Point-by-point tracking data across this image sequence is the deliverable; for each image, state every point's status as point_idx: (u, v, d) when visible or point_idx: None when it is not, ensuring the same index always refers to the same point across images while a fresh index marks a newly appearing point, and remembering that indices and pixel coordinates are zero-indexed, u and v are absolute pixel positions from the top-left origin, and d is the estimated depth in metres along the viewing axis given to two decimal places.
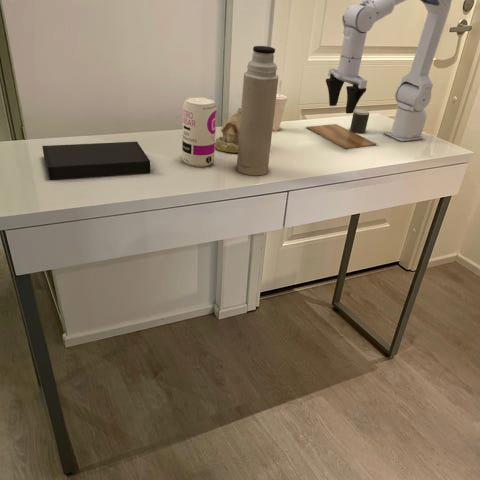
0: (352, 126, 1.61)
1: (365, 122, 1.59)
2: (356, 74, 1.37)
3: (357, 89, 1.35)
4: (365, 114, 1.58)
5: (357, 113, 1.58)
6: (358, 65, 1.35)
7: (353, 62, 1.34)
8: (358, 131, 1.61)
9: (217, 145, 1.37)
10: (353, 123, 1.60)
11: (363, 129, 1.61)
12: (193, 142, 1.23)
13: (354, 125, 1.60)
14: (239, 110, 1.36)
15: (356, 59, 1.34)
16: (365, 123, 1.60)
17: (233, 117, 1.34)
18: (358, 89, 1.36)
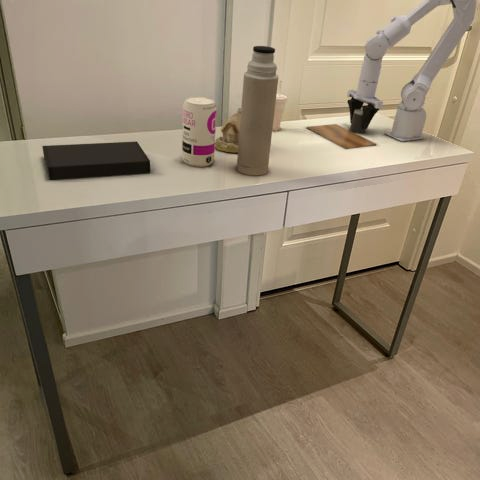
0: (352, 126, 1.61)
1: None
2: (373, 96, 1.55)
3: (372, 108, 1.54)
4: None
5: (357, 113, 1.58)
6: (375, 88, 1.53)
7: (370, 85, 1.52)
8: (358, 131, 1.61)
9: (217, 145, 1.37)
10: (353, 123, 1.60)
11: (363, 129, 1.61)
12: (193, 142, 1.23)
13: (355, 125, 1.60)
14: (239, 110, 1.36)
15: (373, 83, 1.52)
16: None
17: (233, 117, 1.34)
18: (372, 108, 1.54)
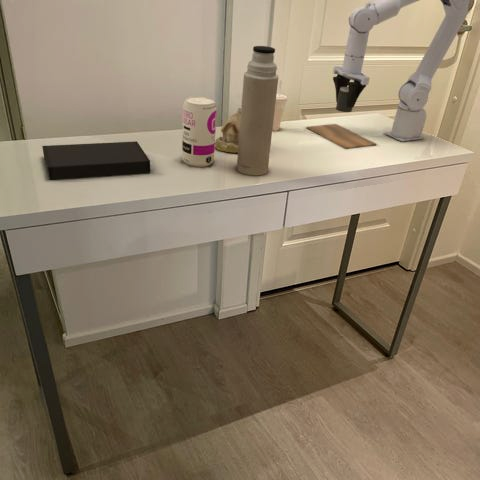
0: (338, 104, 1.53)
1: None
2: (359, 71, 1.47)
3: (358, 84, 1.47)
4: None
5: (343, 90, 1.50)
6: (361, 63, 1.46)
7: (356, 60, 1.45)
8: (344, 110, 1.53)
9: (217, 145, 1.37)
10: (339, 101, 1.53)
11: (349, 108, 1.53)
12: (193, 142, 1.23)
13: (340, 103, 1.52)
14: (239, 110, 1.36)
15: (359, 57, 1.44)
16: None
17: (233, 117, 1.34)
18: (359, 84, 1.47)
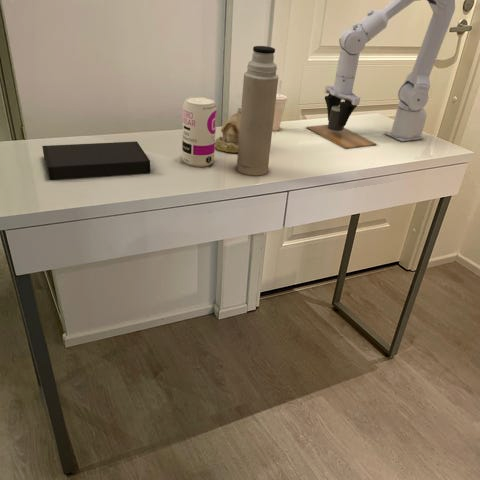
0: (330, 123, 1.56)
1: None
2: (350, 92, 1.50)
3: (349, 104, 1.49)
4: None
5: (334, 110, 1.53)
6: (352, 84, 1.48)
7: (347, 81, 1.47)
8: (336, 128, 1.56)
9: (217, 145, 1.37)
10: (330, 120, 1.55)
11: (341, 126, 1.56)
12: (193, 142, 1.23)
13: (332, 122, 1.55)
14: (239, 110, 1.36)
15: (350, 78, 1.47)
16: None
17: (233, 117, 1.34)
18: (350, 104, 1.49)
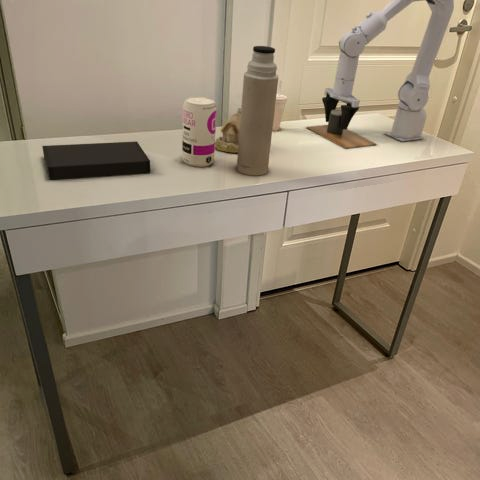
0: (329, 127, 1.57)
1: None
2: (350, 94, 1.50)
3: (350, 108, 1.49)
4: None
5: (333, 114, 1.54)
6: (351, 86, 1.49)
7: (347, 83, 1.47)
8: (335, 132, 1.56)
9: (217, 145, 1.37)
10: (330, 124, 1.56)
11: (340, 130, 1.56)
12: (193, 142, 1.23)
13: (331, 126, 1.56)
14: (239, 110, 1.36)
15: (349, 81, 1.47)
16: None
17: (233, 117, 1.34)
18: (351, 108, 1.49)
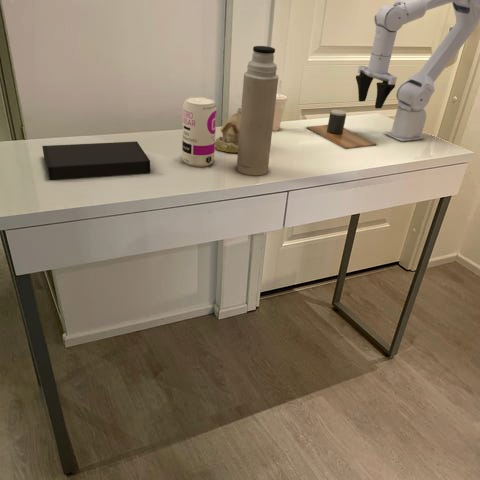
0: (329, 127, 1.57)
1: (342, 123, 1.55)
2: (386, 71, 1.44)
3: (387, 85, 1.43)
4: (342, 115, 1.53)
5: (333, 114, 1.54)
6: (388, 62, 1.43)
7: (383, 59, 1.42)
8: (335, 132, 1.56)
9: (217, 145, 1.37)
10: (330, 124, 1.56)
11: (340, 130, 1.56)
12: (193, 142, 1.23)
13: (331, 126, 1.56)
14: (239, 110, 1.36)
15: (386, 57, 1.41)
16: (342, 124, 1.55)
17: (233, 117, 1.34)
18: (388, 85, 1.43)
